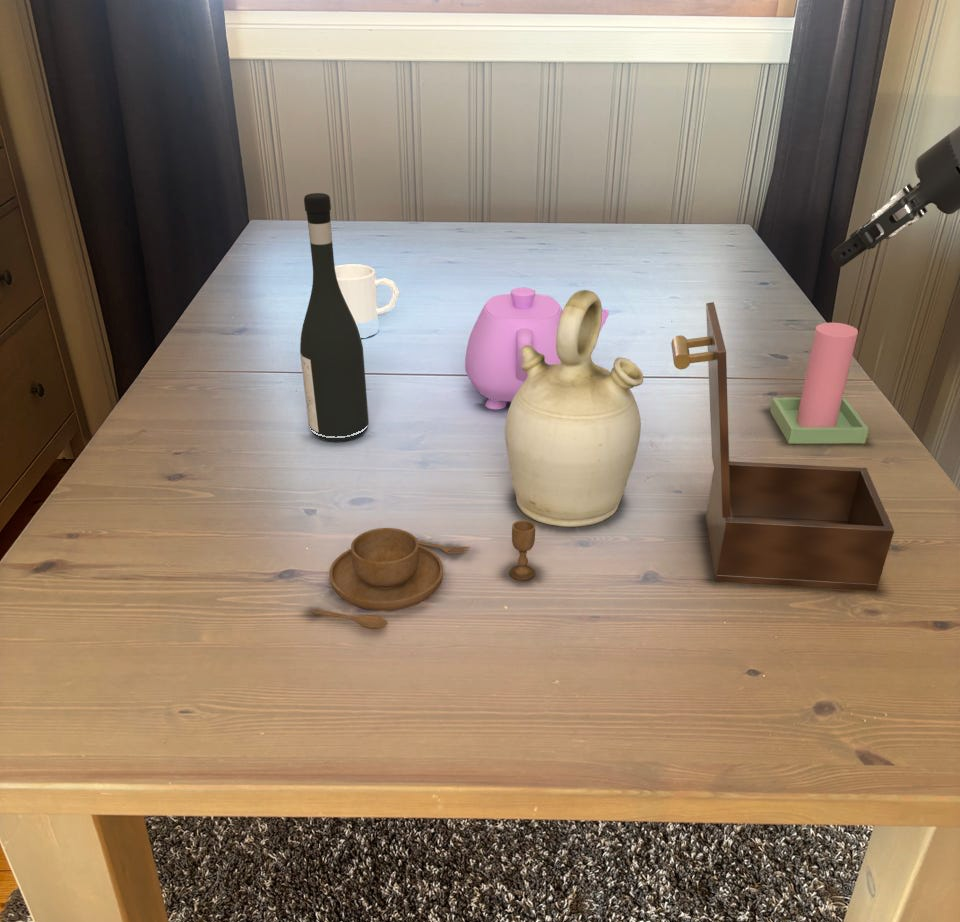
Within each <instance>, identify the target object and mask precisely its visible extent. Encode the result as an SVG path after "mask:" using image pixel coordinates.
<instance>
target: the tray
mask: <svg viewBox="0 0 960 922" xmlns="http://www.w3.org/2000/svg"><path fill="white" fill-rule="evenodd" d="M800 401H801V397H772V399H771V405H770V410H769V412H770V414H771V416H772V418H773V419H774V421H775V423H776V424H777V427H778V428H779V430H780V431H781V433H782V435H783V436H784V438H785V441H786V442H787V444H788V445H789V444H792V445H793V444H803V445H805V444H806V445H807V444H815V445H817V444H826V445H827V444H831V445H832V444H866V441H867V438H868V435H869V430H870V429H869V427H868V426H867V424H866V423H865V422H864V421H863V419H862V418H861V416H860V415H859V413H858V412H857V410H855V408H854V407H853V406H852V404H851V403H850V402H849V400H848V399H847V398H846V397H844V396H843V398H842V402H841V406H840V410H839V415H838V419H837V423H836V427H801V426H799V425H798V424H797V416H798V411H799V406H800Z"/></svg>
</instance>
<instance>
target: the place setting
mask: <svg viewBox="0 0 960 922" xmlns="http://www.w3.org/2000/svg"><path fill="white" fill-rule="evenodd" d="M535 542H536V524H535V523H534V522H532V521H530V520H527V519H526V520H525V519H523V520H522V519H520V520H517V521H514V522H513V523H512V525H511V544H512V546H513V548H514V549H515V550H516V551H518V554H519V555H518V558H517V565H515V566H512V567H511V568H510V569H509V573H508V574H509V576H510V577H511V578H512V579H514V580H516V581H520V582H521V581H530V580H532V579H533V578H534V577H535V576H536V570H535V569H534V568H533V567H532V566H530V565H528V561H529V559H528V556H527V555H528V551H531V550H532V549H533V548H534V546H535ZM428 547H431V548H437V549H441V550H442V551H443V552H444V553H446V554H466V553H467V552H468V551H470V548H471V546H444V545H441V544H436V543H429V542H426V541H419V540H418V539H417V537H416V536H415V535H414V534H412V533H410V532H409V531H407V530H404V529H400V528H394V527H379V528H373V529H370V530H366V531H364V532H362V533H360V534H359V535H358V536H356V537H355V538H354V539H353V541H352V542H351V544H350V548H349V549H347V550H346V551H344V552H343V553H341V554H340V555H339V556H337V557H336V558H335V560H334V561H333V562H332V563H331V565H330V568H329V571H328V576H329V583H330V585H331V587H332V589H333V591H334V592H335V593H336V595H337V596H338V597H339V598H340V599H341V600H343V601H345V602H346V603H348V604H350V605H352V606H355V607H358V608H361V609H366V610H370V611H381V612H382V611H386V612H387V611H396V610H402V609H406V608H409V607H413V606H415V605H418V604H420V603H422V602H423V601H425V600H427V599H428V598H430V597H431V596H432V595H433V594H434V593H435V592H436V591H437V590H438V589H439V587H440V585H441V583H442V580H443V577H444V565H443V562H442V560H441V558H440V557H439V556H438V555H437V553H435V552H434V551H433V550H431V549H429V548H428ZM310 612H311V613H313V614H315V615H321V616H322V615H323V616H327V617H335V618H342V619H348V620H351V621H355V622H356V623H358V625H360V626H362V627H365V628H368V629H380V628H385V627H386V626H387V625H388V623H389V621H388V620H387V619H386V618H384V617H382V616H379V615H362V616H358V615H350V614H345V613H339V612H334V611H329V610H322V609H312V610H311V611H310Z"/></svg>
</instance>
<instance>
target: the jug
mask: <svg viewBox="0 0 960 922" xmlns="http://www.w3.org/2000/svg"><path fill="white" fill-rule="evenodd" d="M602 309H603V305H602V301H601V299H600V297H599V296H598V295H597V294H596V293H595V292H594V291H592V290H589V289H581V290H577V291H576V292H574V293H573V294H572V295H570V297H569V298H568V300H567V301H566V304H565V305H564V307H563V308H562V310H563V311H562V314H561V317H560V321H559V325H558V329H557V337H556V350H557V355H558V358H559V359H560V361H561V363H560V364H552V365H549V364H547V363H546V362H545V356H544V355H543V354H541V353H538V352H537V351H536V350H535V349H534V348H533V347H531V346H530V345H525V346H524V347H523V348H522V350H521V354H522V359H523V364H522V366H521V368H522V370H524V371H526V372H527V379H526V380H525V382H524V383H523V384H522V385H521V387H520V388H519V390H518V391H517V393H516V395H515V396H514V398H513V400H512V402H511V401H510V405H509V408H508V410H507V414H506V419H505V425H504V440H505V447H506V454H507V459H508V460H507V461H508V466H509V472H510V476H511V477H510V479H511V484H512V488H513V491H514V495H515V498H516V499H515V500H516V504H517V506H518V508H519V510H520V511H521V512H522V513H523V514H524V515H525V516H526V517H527V518H530V519H531V520H534V521H536V522H538V523H542V524H545V525H549V526H550V525H551V526H556V527H561V528H562V527H564V528H575V527H578V528H579V527H585V526H591V525H596V524H599V523H602V522H604V521H605V520H607V519H609V518H611V517H612V516H613V515H614V514H615V513H616V511H617V510H618V508H619V505H620V502H621V500H622V498H623V495H624V492H625V489H626V486H627V484H628V483H627V482H628V480H629V477H630V475H631V473H632V470H633V467H634V463H635V461H636V456H637V452H638V448H639V444H640V438H641V426H642V421H641V414H640V410H639V407H638V403H637V401H636V399H635V395H634V394H633V392H632V390H631V389H633V388H634V387H638V386H641V385H642V384H643V383H644V374H643V372H642V370H641V369H640V368H639V366H637V364H636V363H634V362H633V361H632V360H630V359H629V358H627V357H621V356H620V357H616V358H615V359H614V360H613V367H612V368H611V370H608V369H606V368H604V367H603V366H600V365H598V364H596V363H595V362H594V361H593V359H592V354H593V352H594V350H595V348H596V345H597V343H598V340H599V336H600V334H601V333H600V332H601V331H600V328H601V322H602Z"/></svg>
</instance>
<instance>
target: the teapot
mask: <svg viewBox="0 0 960 922" xmlns="http://www.w3.org/2000/svg"><path fill="white" fill-rule="evenodd" d="M562 311H563V307H562V306H561V304H560V303H559V302H558V301H557V300H556V299H555V298H553V297H551V296H550V295H546V294H539V293H536V290H535V289H532V288H530V287H516V288H512V289H511V290H510V293H506V294H505V293H503V294H498V295H495V296H492V297H490V298H489V299H488V300H487V301H486V302H485V304H484V306H483V307H482V309H481V311H480V313H479V315H478V316H477V319H476V321H475V323H474V325H473V327H472V330H471V332H470V335H469V338H468V341H467V346H466V351H465V358H464V359H465V360H464V369H465V373H466V376H467V378H468V380H469V381H470V382H471V384H472V385H473V387H474V388H475V389H476V391H477V392H478V393H479V394H481V395H482V396H483V397H485V398H487V400H486V402H485V404H484V406H485V407H486V408H487V409H490V410H501V409H505V408H506V407H507V404H508V402H510V403H511V402H512V400H513V398H514V396H515V395H516V393H517V391H518V390H519V388H520V387H521V385H522V384H523V383H524V382H525V380H526V379H527V372H526V371H524V370H522V368H521V366H522V364H523V359H522V354H521V350H522V348H523V347H524V346H525V345H530V346H531V347H533V348H534V349H535V350H536V351H537V352H538V353H541V354H543V355H544V356H545V362H546V363H547V364H549V365H552V364H560V363H561V361H560V359H559V358H558V355H557V350H556V337H557V329H558V325H559V321H560V317H561V314H562ZM609 314H610V313H609V310H608V309H603V308H602V322H601V328H600V332H601V331H602V329H603V327H604V324H605V323H606V321H607V319H608V317H609ZM489 398H490V399H489ZM491 399H493V400H499V401H493V400H491Z"/></svg>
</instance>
